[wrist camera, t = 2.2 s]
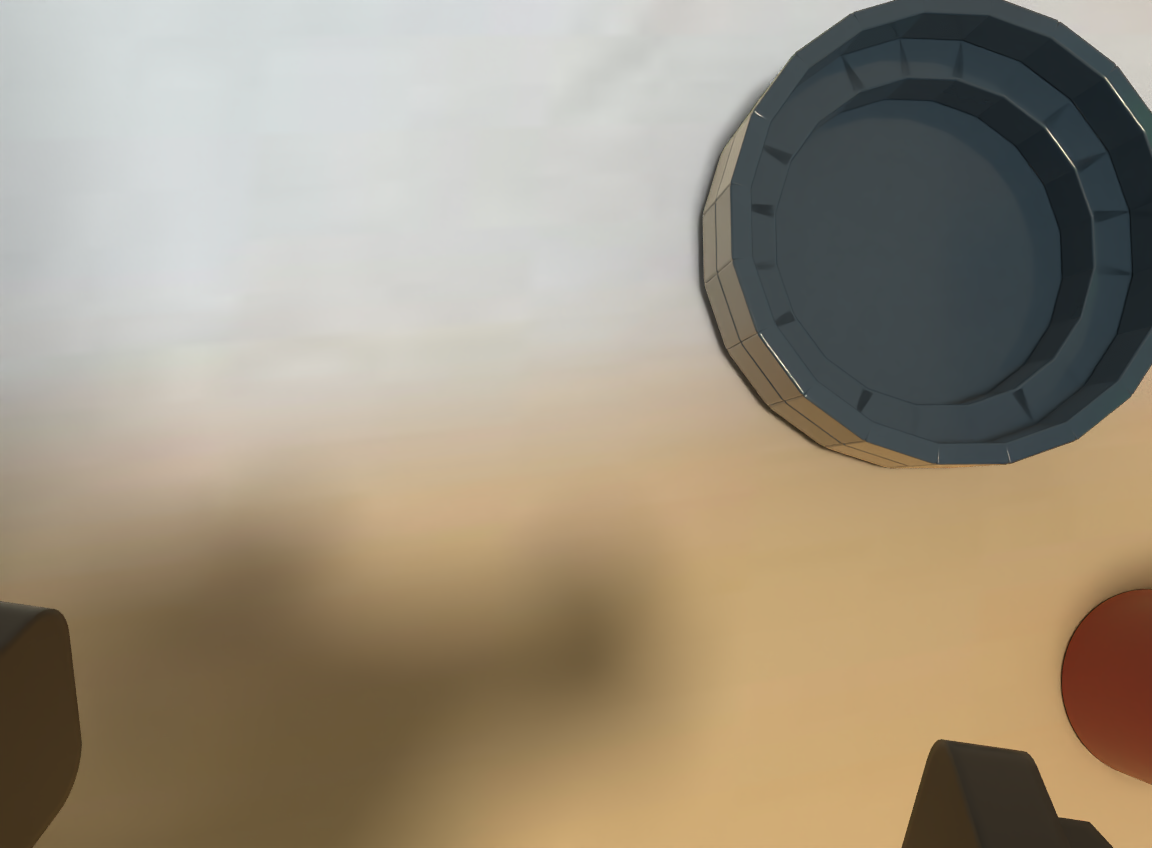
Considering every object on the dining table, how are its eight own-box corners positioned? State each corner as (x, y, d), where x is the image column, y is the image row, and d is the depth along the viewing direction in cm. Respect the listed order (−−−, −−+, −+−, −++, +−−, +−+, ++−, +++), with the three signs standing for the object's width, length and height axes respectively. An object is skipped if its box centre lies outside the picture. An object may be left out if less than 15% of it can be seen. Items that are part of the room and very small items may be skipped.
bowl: (640, 117, 33) (665, 65, 29) (1023, 4, 35) (1096, -60, 31) (779, 526, 33) (824, 530, 29) (1159, 392, 34) (1252, 378, 30)
